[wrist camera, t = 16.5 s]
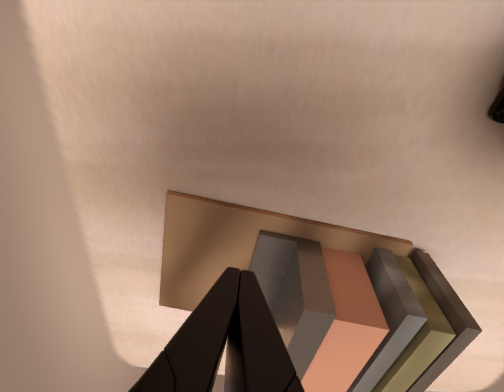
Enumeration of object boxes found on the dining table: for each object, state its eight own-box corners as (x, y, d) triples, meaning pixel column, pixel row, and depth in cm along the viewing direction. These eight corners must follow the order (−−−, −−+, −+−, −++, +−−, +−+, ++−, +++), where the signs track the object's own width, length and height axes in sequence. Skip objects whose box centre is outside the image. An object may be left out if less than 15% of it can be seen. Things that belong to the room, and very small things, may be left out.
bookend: (320, 242, 24) (336, 315, 17) (287, 320, 28) (291, 398, 22) (260, 229, 23) (255, 299, 17) (238, 310, 28) (228, 387, 22)
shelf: (428, 244, 24) (487, 325, 17) (365, 340, 30) (391, 425, 24) (168, 190, 23) (126, 254, 16) (160, 301, 29) (128, 378, 23)
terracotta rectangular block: (360, 254, 24) (389, 330, 18) (324, 322, 28) (338, 401, 22) (317, 246, 24) (333, 319, 18) (289, 316, 28) (293, 393, 22)
